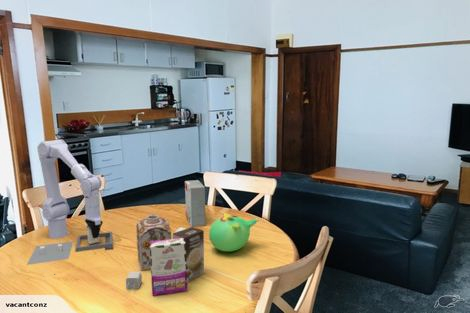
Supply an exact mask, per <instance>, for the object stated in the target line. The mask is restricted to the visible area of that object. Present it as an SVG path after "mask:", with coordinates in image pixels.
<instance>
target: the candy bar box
mask: <svg viewBox="0 0 470 313" xmlns="http://www.w3.org/2000/svg"><path fill="white" fill-rule="evenodd" d="M150 262H151V269H150V276H151V278H150V279H151V293H152V296H153V297H156V296H163V295H169V294H175V293H176V294H177V293H181V292H182V293H183V292H188V282H187V267H186V244H185V241H184V238H177V239H173V238H172V239H168V240H160V241H152V242H150Z"/></svg>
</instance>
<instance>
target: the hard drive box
mask: <svg viewBox="0 0 470 313" xmlns="http://www.w3.org/2000/svg"><path fill="white" fill-rule="evenodd" d="M184 192H185V193H184V194H185V217H186V220H187V222H188V223H189V226H190V227H193V228H196V227H195V226H199V227H203V226H202V225H206V222H207V220H206V187H205V185H203V183H202V182H201V181H200V180H198V179H196V180H185V181H184Z"/></svg>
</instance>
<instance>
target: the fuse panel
mask: <svg viewBox="0 0 470 313" xmlns="http://www.w3.org/2000/svg"><path fill="white" fill-rule="evenodd" d="M73 243H74V241H67V242H66V241H65V242H58V243H51V244H50V243H49V244H43V245H42V244H40V245H36V246H35V248H34V249H33V252H32V253H31V255H30V257H29V259H28V262H27V263H26V266H27V265H34V264H36V265H37V264H42V263H47V262H48V263H49V262H57V261H64V260H69V258H70V255H71V251H72V247H73Z"/></svg>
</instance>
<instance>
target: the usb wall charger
mask: <svg viewBox="0 0 470 313" xmlns="http://www.w3.org/2000/svg"><path fill="white" fill-rule="evenodd" d="M142 275H143V274H142V272H141V271H129V273H128V275H127V277H126V278H125V288H126V289H127V290H138V289H139V288H140V286H141V284H142V282H143V276H142Z"/></svg>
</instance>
